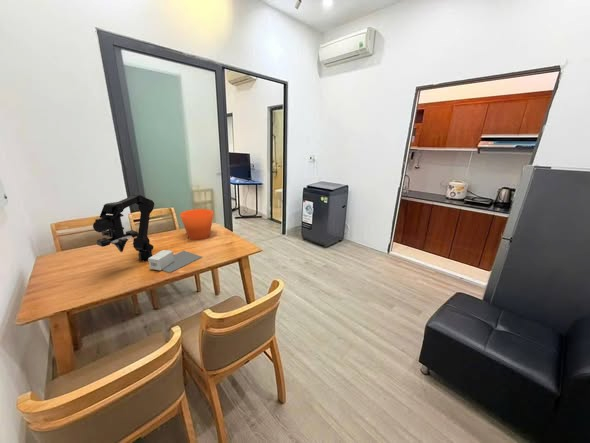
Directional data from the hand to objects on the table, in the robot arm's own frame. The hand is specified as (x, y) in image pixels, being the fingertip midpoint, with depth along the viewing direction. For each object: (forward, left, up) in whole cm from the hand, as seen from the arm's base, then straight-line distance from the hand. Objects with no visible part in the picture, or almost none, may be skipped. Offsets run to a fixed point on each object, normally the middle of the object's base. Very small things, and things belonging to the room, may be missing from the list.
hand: (121, 251), depth 136 cm
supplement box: (-9, +13, -9) cm, 18 cm away
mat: (-24, +14, -13) cm, 31 cm away
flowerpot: (-61, -9, -13) cm, 63 cm away
